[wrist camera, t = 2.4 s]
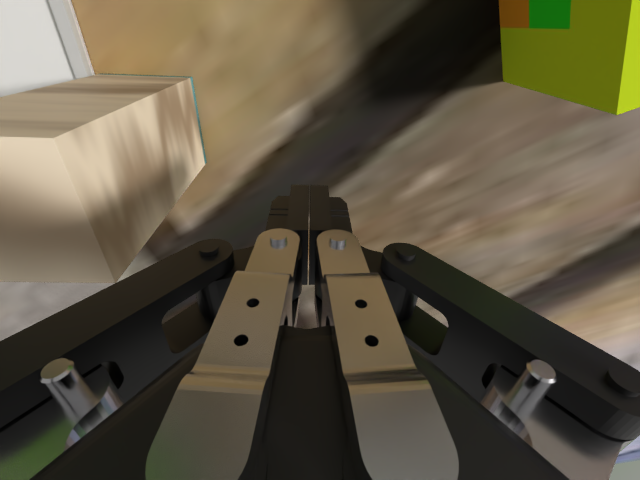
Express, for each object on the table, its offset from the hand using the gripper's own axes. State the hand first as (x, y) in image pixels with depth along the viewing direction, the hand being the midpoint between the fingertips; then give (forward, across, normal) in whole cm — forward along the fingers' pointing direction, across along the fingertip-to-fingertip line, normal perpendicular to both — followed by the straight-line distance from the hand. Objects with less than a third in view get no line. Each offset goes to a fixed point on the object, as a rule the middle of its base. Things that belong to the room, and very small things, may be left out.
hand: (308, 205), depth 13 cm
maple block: (+12, +11, 0) cm, 17 cm away
